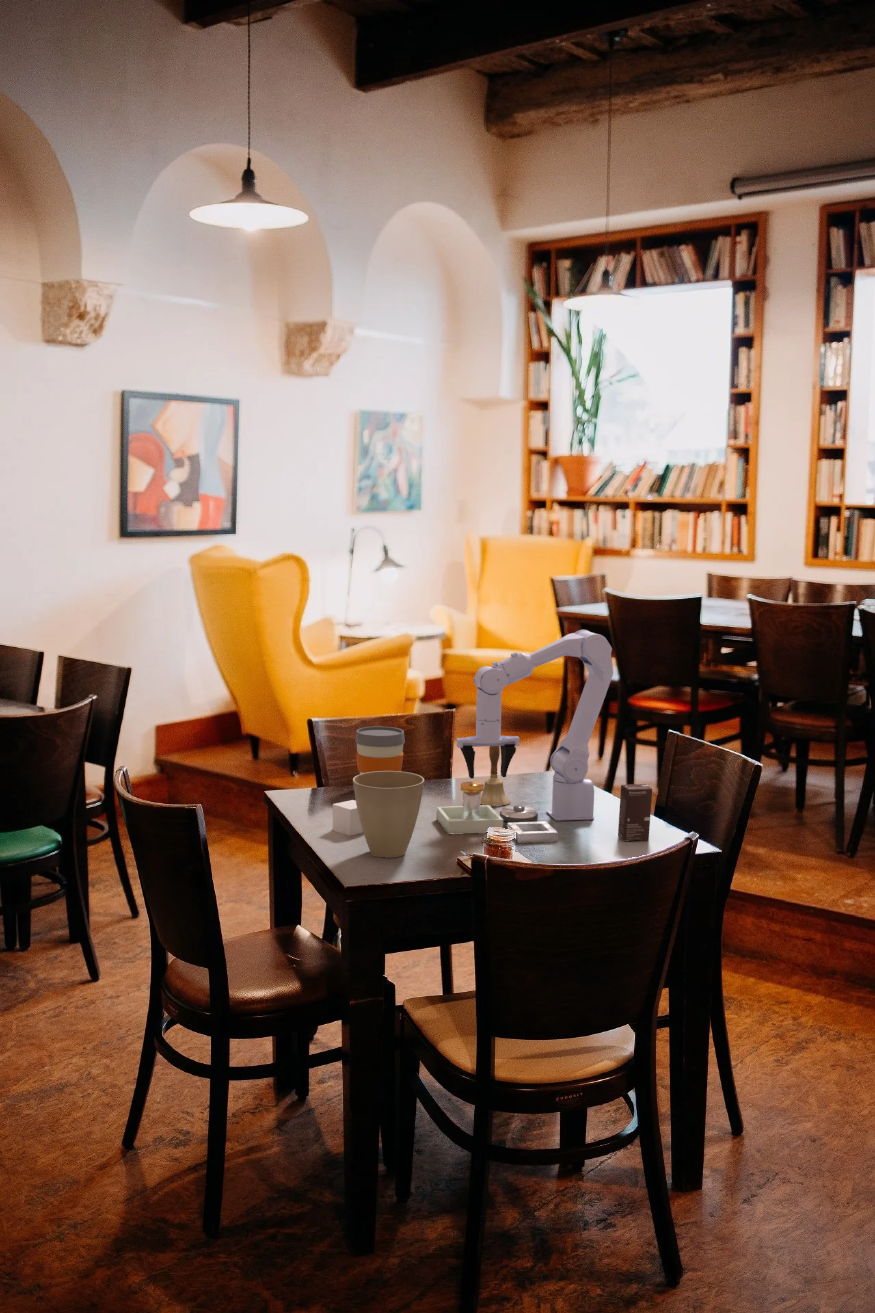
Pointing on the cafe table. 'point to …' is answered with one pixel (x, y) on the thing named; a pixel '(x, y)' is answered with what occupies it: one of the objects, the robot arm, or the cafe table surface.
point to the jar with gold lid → (471, 800)
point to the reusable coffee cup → (379, 749)
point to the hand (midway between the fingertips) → (487, 776)
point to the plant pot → (388, 809)
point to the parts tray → (455, 824)
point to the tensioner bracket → (527, 825)
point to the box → (634, 812)
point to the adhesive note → (346, 818)
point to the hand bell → (494, 783)
